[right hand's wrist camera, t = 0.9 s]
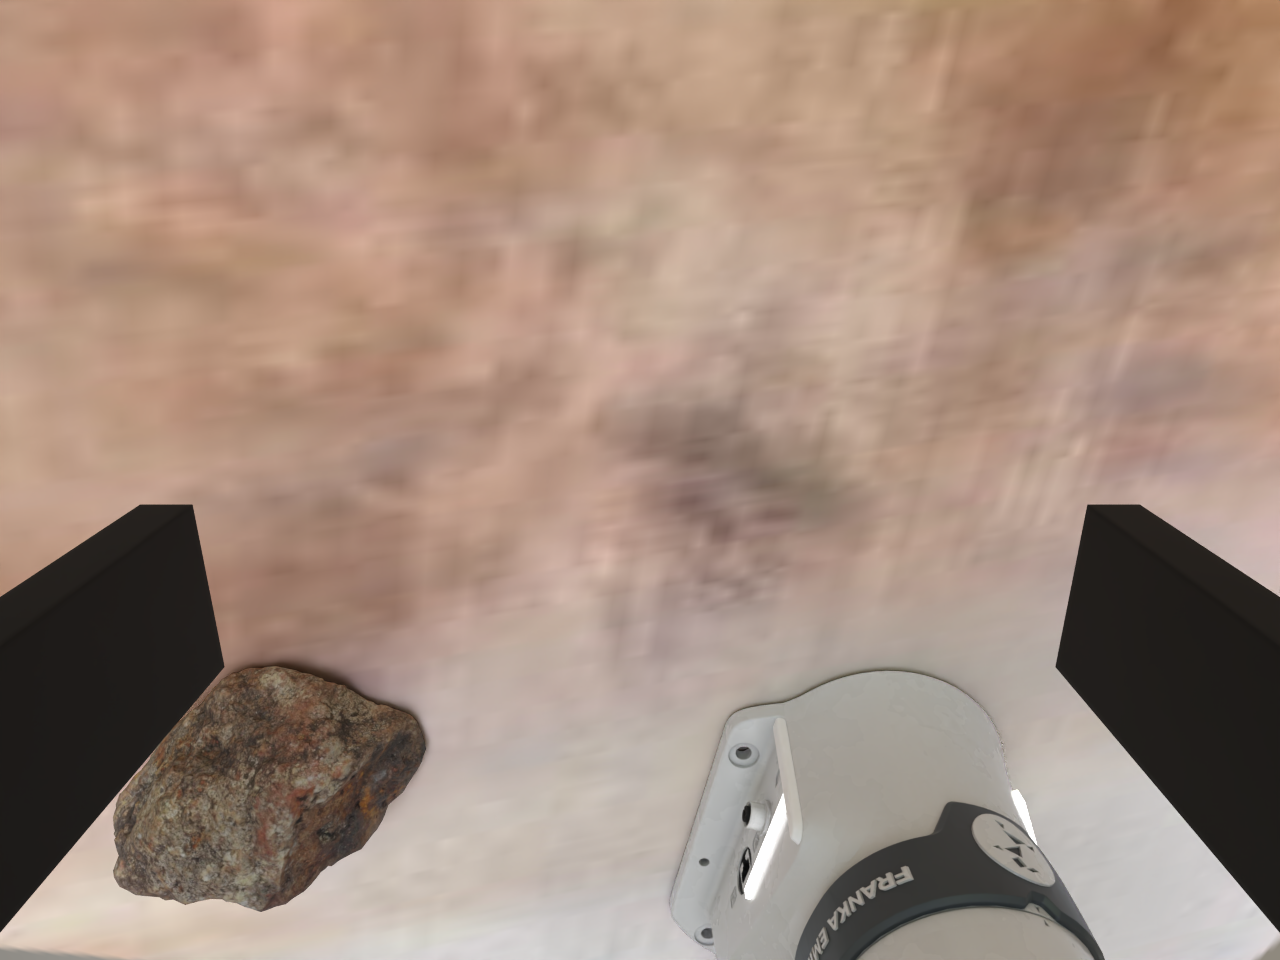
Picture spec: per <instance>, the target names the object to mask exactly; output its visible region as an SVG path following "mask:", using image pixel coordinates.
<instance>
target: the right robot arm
mask: <svg viewBox="0 0 1280 960" xmlns="http://www.w3.org/2000/svg"><path fill="white" fill-rule="evenodd" d="M223 668H224V662H223V657H222V652H221V647H220V642H219V636H218V631H217V626H216V621H215V616H214V611H213V606H212V601H211V596H210V591H209V586H208V581H207V576H206V571H205V566H204V560H203V555H202V550H201V545H200V540H199V535H198V530H197V525H196V520H195V515H194V510H193V505H139V506H137V507H136V508H134V509H133V510H131V511H130V512H128V513H127V514H125V515H124V516H122V517H121V518H119V519H118V520H116V521H115V522H113V523H112V524H110V525H109V526H107V527H106V528H104V529H103V530H101V531H100V532H98V533H97V534H95V535H94V536H92V537H90V538H89V539H87V540H86V541H84V542H83V543H81V544H80V545H78V546H77V547H75V548H74V549H72V550H71V551H69V552H68V553H66V554H65V555H63V556H62V557H60V558H59V559H57V560H56V561H54V562H53V563H51V564H50V565H48V566H47V567H45V568H44V569H42V570H40V571H39V572H37V573H36V574H34V575H33V576H31V577H30V578H28V579H27V580H25V581H24V582H22V583H21V584H19V585H18V586H16V587H15V588H13V589H12V590H10V591H9V592H7V593H6V594H4V595H3V596H1V597H0V932H1V931H2V930H3V929H4V927H5V926H6V925H7V924H8V923H9V921H10V920H11V919H12V918H13V917H14V916H15V914H16V913H17V912H18V911H19V910H20V908H21V907H22V906H23V905H24V904H25V903H26V901H27V900H28V899H29V898H30V897H31V895H32V894H33V893H34V892H35V891H36V890H37V888H38V887H39V886H40V885H41V884H42V882H43V881H44V880H45V879H46V878H47V876H48V875H49V874H50V873H51V872H52V871H53V869H54V868H55V867H56V866H57V865H58V863H59V862H60V861H61V860H62V859H63V858H64V856H65V855H66V854H67V853H68V852H69V850H70V849H71V848H72V847H73V846H74V845H75V843H76V842H77V841H78V840H79V839H80V837H81V836H82V835H83V834H84V833H85V831H86V830H87V829H88V828H89V827H90V826H91V824H92V823H93V822H94V821H95V820H96V818H97V817H98V816H99V815H100V814H101V813H102V811H103V810H104V809H105V808H106V807H107V805H108V804H109V803H110V802H111V801H112V800H113V798H114V797H115V796H116V795H117V794H118V792H119V791H120V790H121V789H122V788H123V786H124V785H125V784H126V783H127V782H128V781H129V779H130V778H131V777H132V776H133V775H134V773H135V772H136V771H137V770H138V769H139V768H140V766H141V765H142V764H143V763H144V762H145V760H146V759H147V758H148V757H149V756H150V755H151V753H152V752H153V751H154V750H155V749H156V747H157V746H158V745H159V744H160V743H161V741H162V740H163V739H164V738H165V737H166V736H167V734H168V733H169V732H170V731H171V730H172V728H173V727H174V726H175V725H176V724H177V723H178V721H179V720H180V719H181V718H182V717H183V715H184V714H185V713H186V712H187V711H188V710H189V708H190V707H191V706H192V705H193V704H194V702H195V701H196V700H197V699H198V698H199V696H200V695H201V694H202V693H203V692H204V691H205V689H206V688H207V687H208V686H209V685H210V683H211V682H212V681H213V680H214V679H215V678H216V676H217V675H218V674H219V673H220V672H221V670H222V669H223ZM1056 668H1057V669H1058V670H1059V672H1060V673H1061V674H1062V675H1063V676H1064V678H1065V679H1066V680H1067V681H1068V682H1069V683H1070V685H1071V686H1072V687H1073V688H1074V689H1075V691H1076V692H1077V693H1078V694H1079V695H1080V696H1081V698H1082V699H1083V700H1084V701H1085V702H1086V704H1087V705H1088V706H1089V707H1090V708H1091V710H1092V711H1093V712H1094V713H1095V714H1096V715H1097V717H1098V718H1099V719H1100V720H1101V721H1102V723H1103V724H1104V725H1105V726H1106V727H1107V728H1108V730H1109V731H1110V732H1111V733H1112V734H1113V736H1114V737H1115V738H1116V739H1117V740H1118V741H1119V743H1120V744H1121V745H1122V746H1123V747H1124V749H1125V750H1126V751H1127V752H1128V753H1129V755H1130V756H1131V757H1132V758H1133V759H1134V760H1135V762H1136V763H1137V764H1138V765H1139V766H1140V768H1141V769H1142V770H1143V771H1144V772H1145V773H1146V775H1147V776H1148V777H1149V778H1150V779H1151V781H1152V782H1153V783H1154V784H1155V785H1156V786H1157V788H1158V789H1159V790H1160V791H1161V792H1162V794H1163V795H1164V796H1165V797H1166V798H1167V800H1168V801H1169V802H1170V803H1171V804H1172V805H1173V807H1174V808H1175V809H1176V810H1177V811H1178V813H1179V814H1180V815H1181V816H1182V817H1183V818H1184V820H1185V821H1186V822H1187V823H1188V824H1189V826H1190V827H1191V828H1192V829H1193V830H1194V831H1195V833H1196V834H1197V835H1198V836H1199V837H1200V839H1201V840H1202V841H1203V842H1204V843H1205V845H1206V846H1207V847H1208V848H1209V849H1210V850H1211V852H1212V853H1213V854H1214V855H1215V856H1216V858H1217V859H1218V860H1219V861H1220V862H1221V863H1222V865H1223V866H1224V867H1225V868H1226V869H1227V871H1228V872H1229V873H1230V874H1231V875H1232V876H1233V878H1234V879H1235V880H1236V881H1237V882H1238V884H1239V885H1240V886H1241V887H1242V888H1243V890H1244V891H1245V892H1246V893H1247V894H1248V895H1249V897H1250V898H1251V899H1252V900H1253V901H1254V903H1255V904H1256V905H1257V906H1258V907H1259V908H1260V910H1261V911H1262V912H1263V913H1264V914H1265V916H1266V917H1267V918H1268V919H1269V920H1270V921H1271V923H1272V924H1273V925H1274V926H1275V927H1276V929H1277V930H1278V931H1279V932H1280V597H1279V596H1277V595H1276V594H1274V593H1273V592H1271V591H1270V590H1268V589H1267V588H1265V587H1264V586H1262V585H1261V584H1259V583H1258V582H1256V581H1255V580H1253V579H1252V578H1250V577H1249V576H1247V575H1246V574H1244V573H1243V572H1241V571H1240V570H1238V569H1236V568H1235V567H1233V566H1232V565H1230V564H1229V563H1227V562H1226V561H1224V560H1223V559H1221V558H1220V557H1218V556H1217V555H1215V554H1214V553H1212V552H1211V551H1209V550H1208V549H1206V548H1205V547H1203V546H1202V545H1200V544H1199V543H1197V542H1196V541H1194V540H1193V539H1191V538H1190V537H1188V536H1186V535H1185V534H1183V533H1182V532H1180V531H1179V530H1177V529H1176V528H1174V527H1173V526H1171V525H1170V524H1168V523H1167V522H1165V521H1164V520H1162V519H1161V518H1159V517H1158V516H1156V515H1155V514H1153V513H1152V512H1150V511H1149V510H1147V509H1146V508H1144V507H1143V506H1141V505H1087V510H1086V515H1085V520H1084V525H1083V530H1082V535H1081V540H1080V545H1079V550H1078V555H1077V560H1076V565H1075V571H1074V576H1073V581H1072V586H1071V591H1070V596H1069V601H1068V606H1067V611H1066V616H1065V621H1064V626H1063V631H1062V636H1061V642H1060V647H1059V652H1058V657H1057V662H1056Z"/></svg>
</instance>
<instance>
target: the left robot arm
mask: <svg viewBox="0 0 1280 960" xmlns="http://www.w3.org/2000/svg"><path fill="white" fill-rule="evenodd" d="M740 747H748V749H747V750H745V751H739V750H737V749H738V748H740ZM669 904H670V910H671V916H672V918H673V920H674V921H675V922H676V924H677V925H678V926H679V927H680V928H681V929H682V930H683V931H684V932H685V933H686V934H687V935H688V936H689V937H690V938H691V939H693V940H694V941H695V942H696V943H698V944H699V945H701V946H702V947H704V948H705V949H707V950H709V951H710V952H712V953H714V954H716V959H717V960H1105V959H1104V956H1103V954H1102V952H1101V950H1100V948H1099V946H1098V944H1097V942H1096V941H1095V939H1094V937H1093V935H1092V933H1091V931H1090V929H1089V928H1088V926H1087V924H1086V922H1085V920H1084V918H1083V917H1082V915H1081V913H1080V911H1079V910H1078V908H1077V906H1076V904H1075V903H1074V901H1073V899H1072V897H1071V896H1070V894H1069V892H1068V891H1067V889H1066V887H1065V885H1064V884H1063V882H1062V880H1061V879H1060V877H1059V876H1058V874H1057V873H1056V871H1055V870H1054V868H1053V867H1052V865H1051V864H1050V863H1049V861H1048V860H1047V858H1046V857H1045V855H1044V854H1043V853H1042V851H1041V850H1040V849H1039V847H1038V846H1037V843H1036V840H1035V836H1034V832H1033V829H1032V825H1031V821H1030V818H1029V814H1028V811H1027V807H1026V803H1025V801H1024V799H1023V798H1022V796H1021V794H1020V793H1019V791H1018V790H1015V791H1013V789H1012V786H1011V783H1010V779H1009V776H1008V772H1007V768H1006V764H1005V759H1004V754H1003V749H1002V744H1001V741H1000V737H999V735H998V732H997V730H996V728H995V726H994V724H993V722H992V721H991V719H990V718H989V716H988V715H987V713H986V712H985V711H984V710H983V709H982V708H981V706H980V705H979V704H978V703H977V702H975V701H974V700H973V699H972V698H971V697H970V696H968V695H967V694H966V693H964V692H963V691H961V690H959V689H958V688H956V687H954V686H952V685H950V684H948V683H946V682H944V681H941V680H939V679H936V678H933V677H929V676H926V675H922V674H917V673H911V672H903V671H874V672H865V673H859V674H854V675H850V676H846V677H843V678H839V679H836V680H834V681H831V682H828V683H826V684H823V685H821V686H819V687H817V688H815V689H813V690H811V691H809V692H807V693H805V694H803V695H801V696H799V697H797V698H795V699H792V700H790V701H787V702H784V703H777V704H769V705H761V706H755V707H750V708H746V709H742V710H740V711H737V712H736V713H734V714H733V715H732V716H731V717H730V718H729V719H728V720H727V722H726V725H725V728H724V731H723V734H722V737H721V740H720V743H719V746H718V749H717V752H716V756H715V759H714V762H713V765H712V768H711V771H710V774H709V777H708V780H707V784H706V787H705V790H704V793H703V796H702V799H701V802H700V805H699V809H698V812H697V815H696V818H695V821H694V824H693V827H692V830H691V833H690V837H689V840H688V843H687V846H686V849H685V852H684V855H683V858H682V861H681V865H680V868H679V871H678V874H677V877H676V880H675V883H674V886H673V890H672V893H671V896H670V902H669ZM706 928H708V929H706Z"/></svg>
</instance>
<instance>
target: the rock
mask: <svg viewBox="0 0 1280 960" xmlns="http://www.w3.org/2000/svg"><path fill="white" fill-rule="evenodd" d="M425 750H426V746H425V742H424V738H423V735H422V732H421V730H420V729H419V726H418V723H417V721H416V720H415V719H414V718H413V717H412V715H410V714H407V713H405V712H402V711H399V710H397V709H394V708H391V707H389V706H387V705H383V704H381V705H377V704H375V703H374V702H372V701H368V700H366V699H365V698H363V697H361V696H360V695H358V694H357V693H355V692H354V691H352V690H349V689H347V687H346V685H337V684H336V683H332V682H327V681H324V680H323V679H322V678H320V677H317V676H314V675H312V674H308V673H301V672H299V671H297V670H292V669H287V668H282V667H278V666H271V667H264V668H248V669H244V670H242V671H240V672H235V673H232V674H231V675H229V676H228V677H226V678H224V679H222V680H221V682H220V683H219V684H218V685H216V686H215V687H214V688H213V690H212V691H211V693H210V694H209V695H208V696H207V697H206V698H205V700H204V702H203V703H202V704H201V705H199V706H198V707H197V708H195V709H194V710H192V711H190V712H189V713H188V714H187V715H186V716H185V717H184V718H183V719H181V720H180V721H179V722H178V723H177V724H176V725H175V726H174V727H173V728H172V730H171V731H170V732H169V733H168V734H167V736H166V737H165V738H164V739H163V740H162V741H161V743H160V744H159V745H158V746H157V747H156V749H155V751H154V752H153V754H152V755H151V757H150V760H149V761H148V762H147V764H146V765H145V766H144V767H143V768H142V770H141V771H140V772H139V773H137V774H136V775H135V776H134V777H133V779H132V780H131V782H130V783H129V785H128V786H127V787H126V789H125V790H124V791H123V792H122V793H121V794H120V795H119V798H118V800H117V803H116V810H115V813H114V816H113V822H114V829H115V832H114V835H115V837H116V838H115V840H114V841H115V844H116V848H117V852H118V854H119V857H118V859H117V862H116V864H115V867H114V870H113V873H114V878H115V880H116V881H117V883H118V885H119V886H120V887H122V888H124V889H126V890H128V891H130V892H131V893H133V894H135V895H142V896H152V897H160V898H162V899H164V900H172V899H174V900H176V901H178V902H180V903H182V904H185V905H186V904H190V903H194V902H197V901H202V900H207V899H223V900H224V901H226V902H233V903H238V904H240V905H242V906H244V907H248V908H251V909H254V910H257V911H260V912H262V911H265V910H268V909H271V908H273V907H276V906H280V905H284V904H286V903H288V902H289V901H290V900H291V899H293V898H294V897H296V896H297V895H299V894H300V893H302V892H304V891H305V890H306V889H307V888H308V887H309V886H310V885H311V884H312V882H313V881H314V880H315V879H316V878H317V876H318V875H319V873H320V872H321V871H323V870H324V869H325V868H326V867H327V866H332V865H333V864H335V863H336V862H338V861H339V860H341V859H342V858H344V857H346V856H348V855H350V854H352V853H354V852H356V851H358V850H360V849H362V847H363V846H364V845H365V844H366V842H367V841H368V840H369V838H370V837H371V836H372V834H373V833H374V832H375V831H376V830H377V828H378V826H379V825H380V823H381V821H382V820H383V817H384V815H385V813H386V809H387V807H388V805H389V804H390V803H391V802H392V801H393V800H394V799H395V798H397V797H398V796H399V795H400V794H401V793H402V792H403V791H404V789H405V788H406V786H407V784H408V783H409V781H410V780H411V778H412V777H413V775H414V774H415V772H416V771H417V769H418V767H419V766H420V764H421V762H422V758H423V755H424V752H425Z"/></svg>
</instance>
